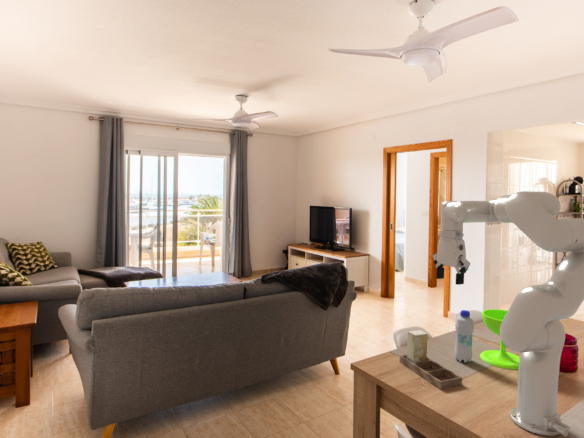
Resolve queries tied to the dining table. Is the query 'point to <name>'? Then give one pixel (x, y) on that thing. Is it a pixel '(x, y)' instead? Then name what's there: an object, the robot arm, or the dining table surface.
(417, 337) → the skincare box
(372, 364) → the dining table surface
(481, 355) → the wineglass
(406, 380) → the dining table surface
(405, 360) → the notch rack
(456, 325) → the bottle
